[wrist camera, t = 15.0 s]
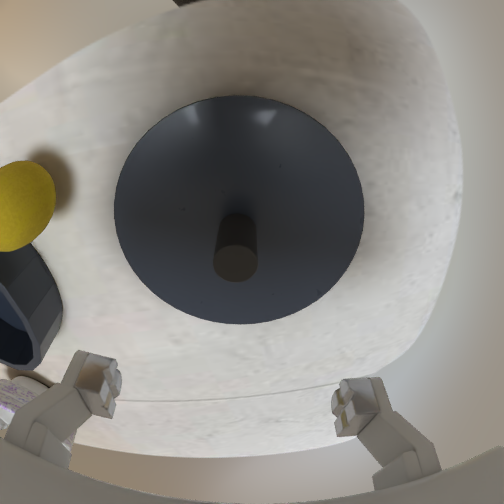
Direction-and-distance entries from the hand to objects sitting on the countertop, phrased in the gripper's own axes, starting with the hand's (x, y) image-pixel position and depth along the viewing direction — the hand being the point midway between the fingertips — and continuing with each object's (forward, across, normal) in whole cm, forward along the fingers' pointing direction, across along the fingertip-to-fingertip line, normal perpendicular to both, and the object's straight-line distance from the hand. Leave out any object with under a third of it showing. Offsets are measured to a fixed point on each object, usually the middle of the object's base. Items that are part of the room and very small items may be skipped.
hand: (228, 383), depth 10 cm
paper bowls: (+13, +29, +33) cm, 46 cm away
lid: (+12, 0, 0) cm, 12 cm away
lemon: (+12, +15, -2) cm, 20 cm away
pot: (+12, +24, +9) cm, 28 cm away
